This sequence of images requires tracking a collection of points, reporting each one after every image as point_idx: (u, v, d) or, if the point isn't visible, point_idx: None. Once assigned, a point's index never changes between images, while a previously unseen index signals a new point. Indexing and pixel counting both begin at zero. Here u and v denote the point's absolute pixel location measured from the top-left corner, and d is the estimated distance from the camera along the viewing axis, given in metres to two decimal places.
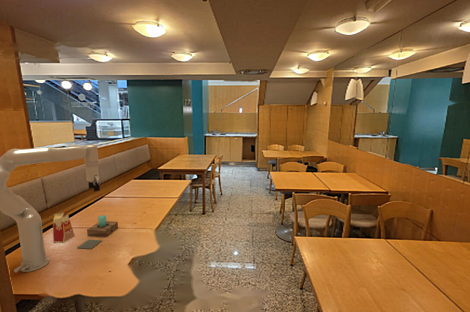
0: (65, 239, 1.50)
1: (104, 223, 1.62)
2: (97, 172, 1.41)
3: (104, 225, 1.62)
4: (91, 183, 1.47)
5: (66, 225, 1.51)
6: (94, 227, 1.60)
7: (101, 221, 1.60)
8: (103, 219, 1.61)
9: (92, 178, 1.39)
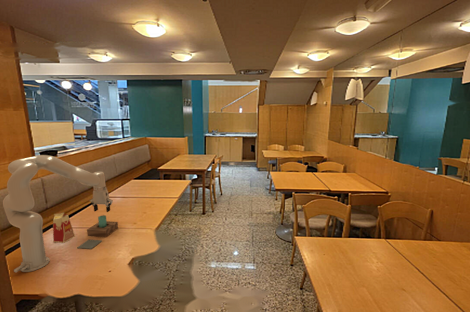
0: (65, 239, 1.50)
1: (104, 223, 1.62)
2: None
3: (104, 225, 1.62)
4: None
5: (66, 225, 1.51)
6: (94, 227, 1.60)
7: (101, 221, 1.60)
8: (103, 219, 1.61)
9: None
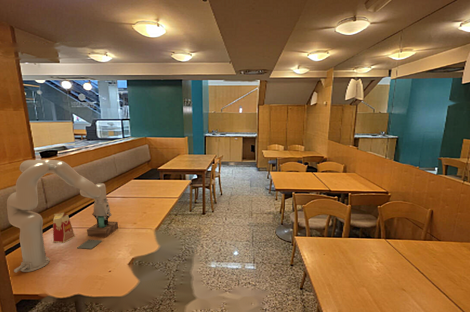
0: (65, 239, 1.50)
1: None
2: None
3: (104, 225, 1.62)
4: None
5: (66, 225, 1.51)
6: (94, 227, 1.60)
7: (101, 221, 1.60)
8: (103, 219, 1.61)
9: None
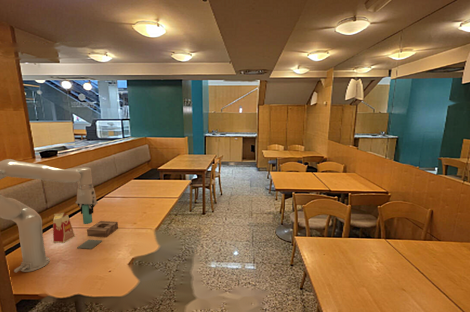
0: (65, 239, 1.50)
1: None
2: None
3: (89, 215, 1.43)
4: None
5: (66, 225, 1.51)
6: (94, 227, 1.60)
7: (85, 210, 1.42)
8: (88, 208, 1.42)
9: None
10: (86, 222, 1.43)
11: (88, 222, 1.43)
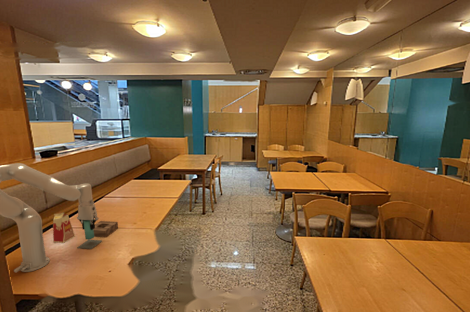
0: (65, 239, 1.50)
1: None
2: None
3: (90, 230, 1.44)
4: None
5: (66, 225, 1.51)
6: None
7: (87, 226, 1.43)
8: (89, 223, 1.43)
9: None
10: (88, 237, 1.44)
11: (90, 237, 1.44)
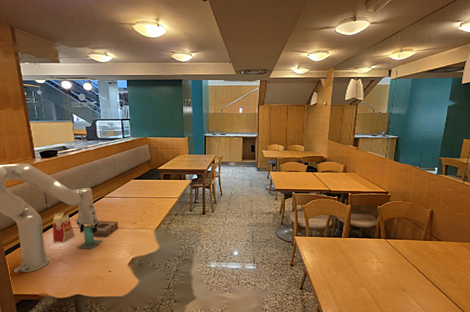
0: (65, 239, 1.50)
1: (90, 234, 1.44)
2: None
3: (90, 236, 1.45)
4: None
5: (66, 225, 1.51)
6: None
7: (87, 232, 1.43)
8: (89, 230, 1.44)
9: None
10: (88, 244, 1.44)
11: (90, 244, 1.45)
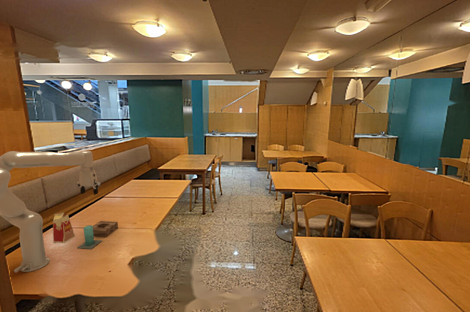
0: (65, 239, 1.50)
1: (90, 234, 1.44)
2: None
3: (90, 236, 1.45)
4: None
5: (66, 225, 1.51)
6: (94, 227, 1.60)
7: (87, 232, 1.43)
8: (89, 230, 1.44)
9: None
10: (88, 244, 1.44)
11: (90, 244, 1.45)
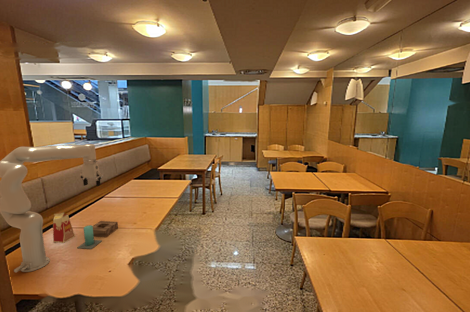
0: (65, 239, 1.50)
1: (90, 234, 1.44)
2: None
3: (90, 236, 1.45)
4: None
5: (66, 225, 1.51)
6: (94, 227, 1.60)
7: (87, 232, 1.43)
8: (89, 230, 1.44)
9: None
10: (88, 244, 1.44)
11: (90, 244, 1.45)
